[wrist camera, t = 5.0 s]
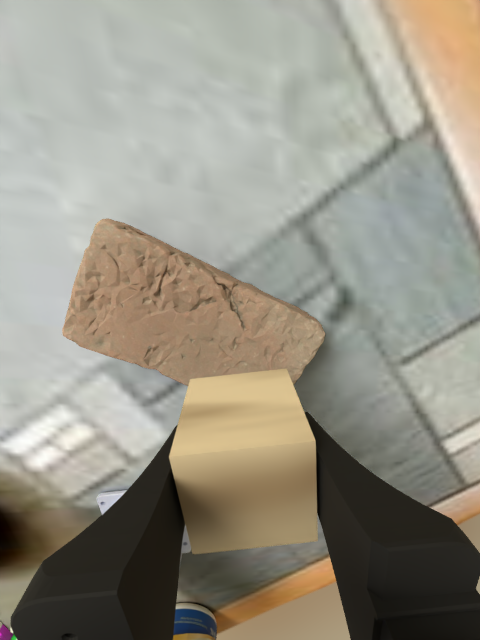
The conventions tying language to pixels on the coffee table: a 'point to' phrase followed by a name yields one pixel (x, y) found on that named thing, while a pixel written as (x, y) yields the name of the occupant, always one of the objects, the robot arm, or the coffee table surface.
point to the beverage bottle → (194, 623)
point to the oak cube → (245, 463)
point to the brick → (180, 312)
